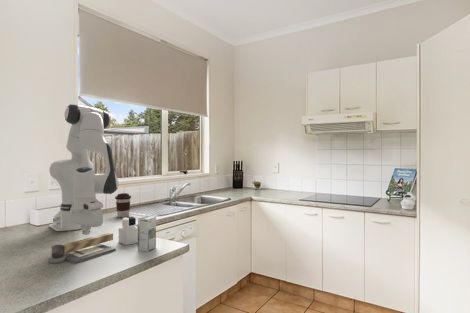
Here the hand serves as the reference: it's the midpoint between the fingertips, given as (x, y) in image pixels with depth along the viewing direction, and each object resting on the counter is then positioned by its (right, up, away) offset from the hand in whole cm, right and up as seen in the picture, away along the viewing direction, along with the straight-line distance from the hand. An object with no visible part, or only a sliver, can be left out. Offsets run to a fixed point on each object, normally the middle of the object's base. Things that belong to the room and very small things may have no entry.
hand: (85, 234), depth 132 cm
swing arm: (+2, -5, -5) cm, 7 cm away
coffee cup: (-8, -5, +65) cm, 65 cm away
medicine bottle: (+16, -7, +9) cm, 20 cm away
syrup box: (+28, -7, 0) cm, 29 cm away
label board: (+2, -7, -8) cm, 11 cm away
